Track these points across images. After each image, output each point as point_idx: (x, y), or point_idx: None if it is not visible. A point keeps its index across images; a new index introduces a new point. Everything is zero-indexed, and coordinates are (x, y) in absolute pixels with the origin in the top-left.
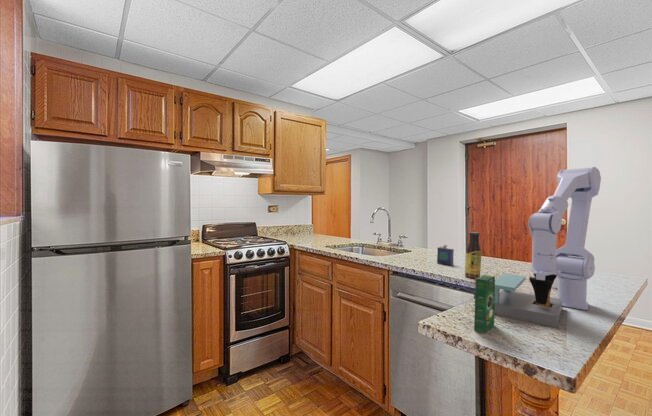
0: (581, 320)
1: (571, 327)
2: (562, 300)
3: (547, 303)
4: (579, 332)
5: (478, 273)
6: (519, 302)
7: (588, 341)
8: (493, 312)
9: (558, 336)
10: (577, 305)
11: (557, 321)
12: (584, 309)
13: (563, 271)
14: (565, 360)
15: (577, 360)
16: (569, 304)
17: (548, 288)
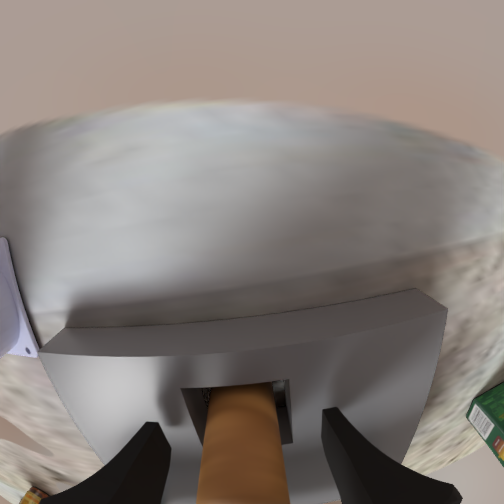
0: (181, 225)
1: (367, 243)
2: (10, 339)
3: (265, 410)
4: (411, 204)
5: (37, 498)
6: (312, 467)
7: (474, 172)
8: (501, 414)
9: (487, 259)
10: (1, 279)
11: (403, 301)
12: (7, 248)
13: None
14: None
15: None
16: (13, 309)
17: (413, 475)
